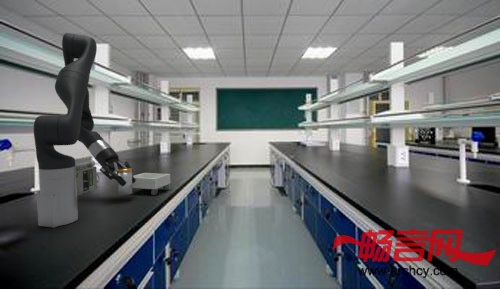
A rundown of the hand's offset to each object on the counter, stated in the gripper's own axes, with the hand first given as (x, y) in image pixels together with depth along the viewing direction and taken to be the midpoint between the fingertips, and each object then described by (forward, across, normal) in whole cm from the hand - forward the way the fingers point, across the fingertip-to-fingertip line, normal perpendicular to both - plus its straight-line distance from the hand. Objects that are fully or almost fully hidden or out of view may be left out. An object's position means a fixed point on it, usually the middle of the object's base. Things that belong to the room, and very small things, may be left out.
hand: (129, 183), depth 106 cm
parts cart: (+4, +14, +5) cm, 16 cm away
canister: (+2, 0, +4) cm, 5 cm away
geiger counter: (-17, +8, +27) cm, 33 cm away
